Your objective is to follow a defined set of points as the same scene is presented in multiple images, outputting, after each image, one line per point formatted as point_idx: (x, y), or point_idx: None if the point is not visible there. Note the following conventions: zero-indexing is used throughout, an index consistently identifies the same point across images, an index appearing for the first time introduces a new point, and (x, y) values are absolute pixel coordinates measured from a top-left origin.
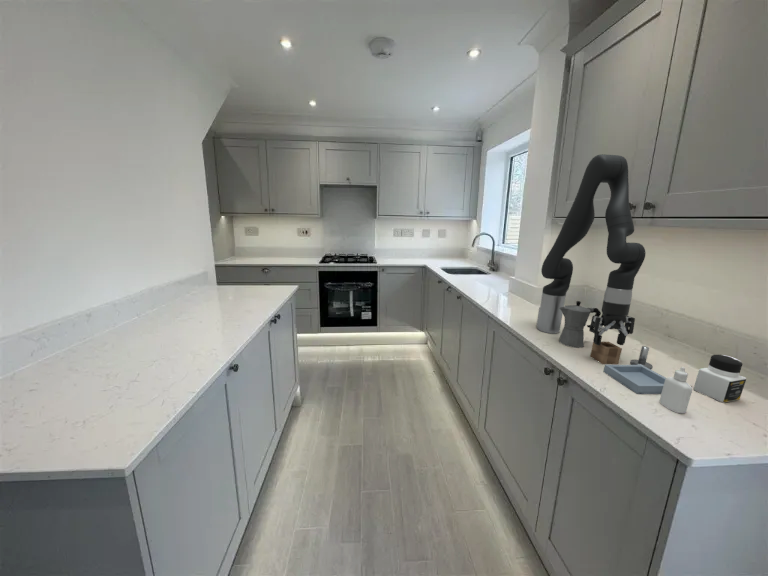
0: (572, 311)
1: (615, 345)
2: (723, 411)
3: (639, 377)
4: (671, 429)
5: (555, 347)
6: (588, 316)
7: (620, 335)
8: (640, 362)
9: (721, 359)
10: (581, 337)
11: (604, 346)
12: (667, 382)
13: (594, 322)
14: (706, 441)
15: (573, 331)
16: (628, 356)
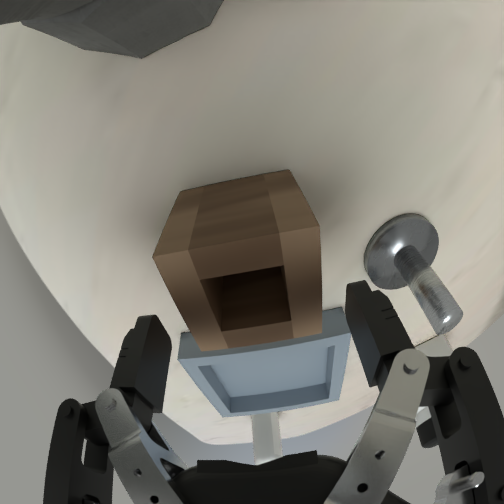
0: None
1: (314, 299)
2: (357, 398)
3: (288, 357)
4: (218, 433)
5: (25, 116)
6: None
7: (373, 363)
8: (397, 269)
9: (426, 447)
10: (158, 10)
11: (208, 329)
12: (254, 456)
13: (72, 491)
14: (248, 437)
15: (45, 25)
16: (430, 151)
